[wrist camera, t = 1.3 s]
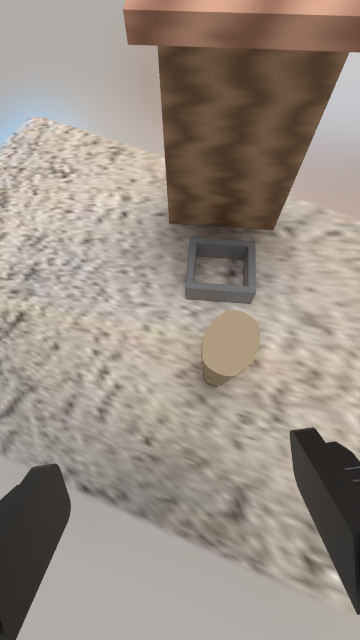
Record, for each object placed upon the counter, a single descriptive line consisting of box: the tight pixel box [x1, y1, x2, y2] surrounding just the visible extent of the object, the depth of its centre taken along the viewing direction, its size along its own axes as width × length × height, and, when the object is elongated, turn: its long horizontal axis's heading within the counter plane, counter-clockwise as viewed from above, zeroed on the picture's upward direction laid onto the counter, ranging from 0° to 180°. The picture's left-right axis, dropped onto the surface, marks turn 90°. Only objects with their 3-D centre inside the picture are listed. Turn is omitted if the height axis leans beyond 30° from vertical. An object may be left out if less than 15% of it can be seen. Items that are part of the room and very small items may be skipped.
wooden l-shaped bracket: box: [123, 0, 360, 230], centre depth 33 cm, size 18×14×32 cm
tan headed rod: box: [202, 310, 260, 387], centre depth 33 cm, size 5×6×15 cm
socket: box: [186, 237, 256, 304], centre depth 45 cm, size 10×9×4 cm
